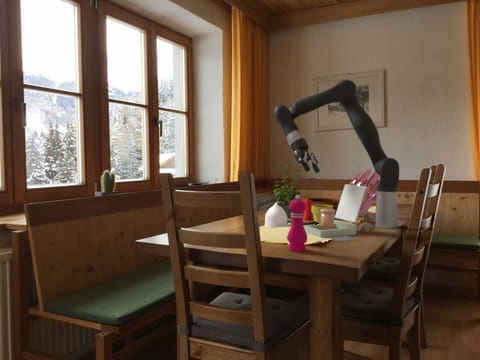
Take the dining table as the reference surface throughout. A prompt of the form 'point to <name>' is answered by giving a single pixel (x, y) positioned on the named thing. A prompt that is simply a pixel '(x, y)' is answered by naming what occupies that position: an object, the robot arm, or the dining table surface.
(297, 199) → the pepper mill
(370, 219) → the chocolate bunny
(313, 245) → the dining table surface
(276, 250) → the dining table surface
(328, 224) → the terracotta pot
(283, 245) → the dining table surface
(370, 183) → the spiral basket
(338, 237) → the slate coaster
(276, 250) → the dining table surface
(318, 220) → the plant pot
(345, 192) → the cold frame
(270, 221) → the teardrop
